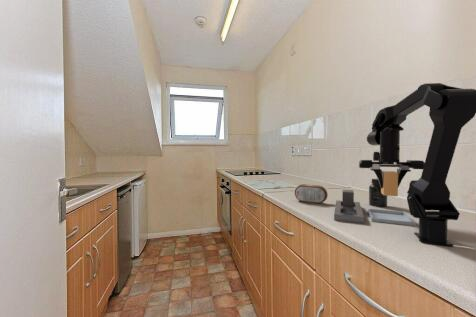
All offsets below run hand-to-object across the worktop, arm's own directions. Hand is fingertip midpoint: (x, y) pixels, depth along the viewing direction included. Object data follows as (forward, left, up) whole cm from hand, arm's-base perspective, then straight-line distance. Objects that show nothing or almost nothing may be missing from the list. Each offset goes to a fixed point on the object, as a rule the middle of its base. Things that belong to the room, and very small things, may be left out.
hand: (389, 188), depth 78 cm
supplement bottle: (+20, +1, -11) cm, 23 cm away
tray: (0, 0, -11) cm, 11 cm away
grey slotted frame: (+1, +13, -11) cm, 17 cm away
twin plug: (+7, +13, -11) cm, 18 cm away
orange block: (0, 0, -2) cm, 2 cm away
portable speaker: (+16, +29, -11) cm, 35 cm away
